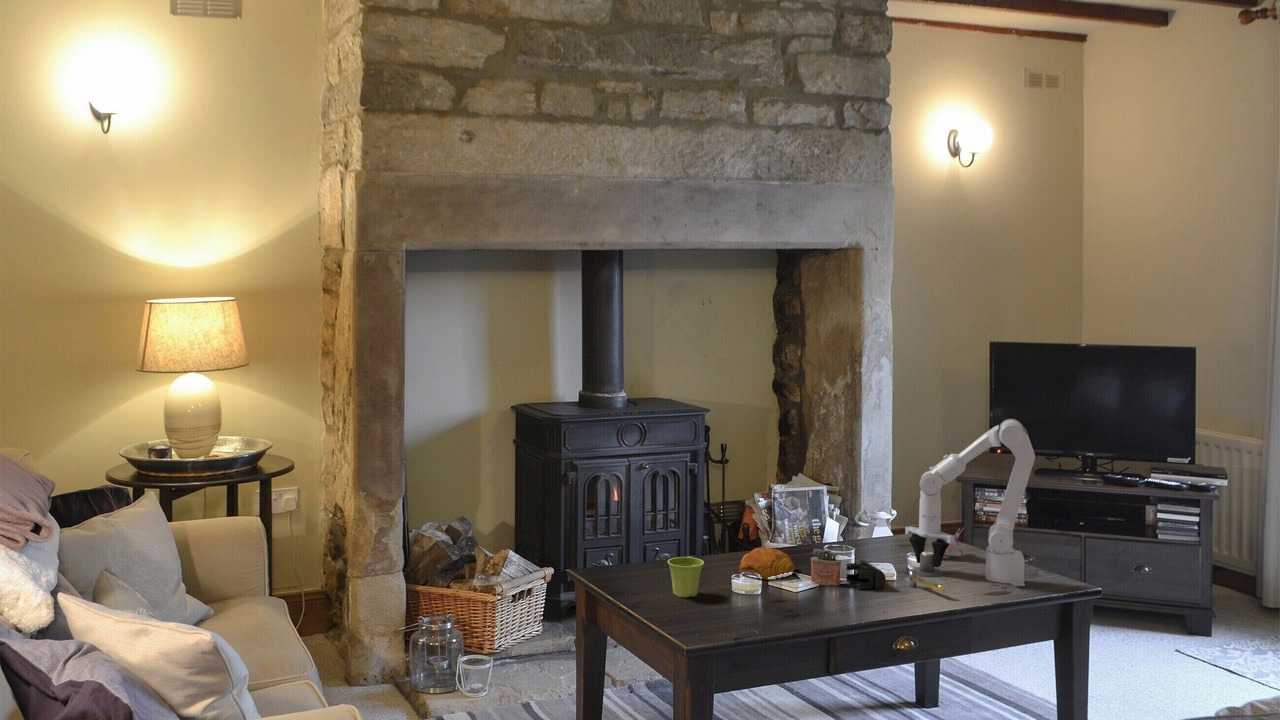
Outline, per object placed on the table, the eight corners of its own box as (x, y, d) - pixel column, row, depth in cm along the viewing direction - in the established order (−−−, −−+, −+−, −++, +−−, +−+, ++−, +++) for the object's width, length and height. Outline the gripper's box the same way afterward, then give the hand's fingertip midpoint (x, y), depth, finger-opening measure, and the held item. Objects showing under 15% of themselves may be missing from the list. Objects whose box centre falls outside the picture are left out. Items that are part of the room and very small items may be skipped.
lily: (959, 555, 336) (943, 527, 337) (988, 548, 327) (972, 519, 327) (936, 574, 329) (920, 545, 330) (965, 567, 320) (948, 537, 320)
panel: (952, 581, 304) (952, 576, 304) (971, 594, 291) (971, 590, 291) (894, 582, 303) (894, 577, 302) (911, 596, 290) (911, 591, 290)
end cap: (885, 594, 291) (886, 568, 291) (860, 595, 290) (860, 570, 289) (870, 584, 301) (871, 559, 301) (845, 585, 300) (846, 560, 299)
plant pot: (707, 591, 293) (708, 558, 292) (697, 601, 284) (698, 567, 283) (673, 588, 296) (673, 555, 295) (662, 597, 287) (662, 564, 286)
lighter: (841, 587, 297) (842, 550, 297) (838, 590, 294) (839, 553, 294) (812, 583, 301) (813, 546, 300) (808, 586, 298) (809, 549, 297)
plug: (933, 571, 312) (934, 548, 312) (947, 579, 305) (948, 555, 304) (907, 573, 311) (907, 549, 310) (920, 580, 303) (920, 556, 303)
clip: (946, 598, 283) (947, 583, 283) (940, 599, 283) (941, 583, 282) (913, 585, 295) (914, 570, 295) (908, 585, 295) (908, 570, 294)
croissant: (760, 572, 321) (758, 544, 321) (803, 575, 310) (801, 545, 310) (726, 580, 311) (724, 551, 311) (770, 583, 300) (768, 553, 300)
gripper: (899, 513, 310) (897, 561, 311) (944, 522, 299) (942, 572, 300) (914, 509, 314) (913, 557, 315) (959, 518, 303) (958, 567, 304)
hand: (928, 564), depth 308 cm, fingers open, 5 cm apart
